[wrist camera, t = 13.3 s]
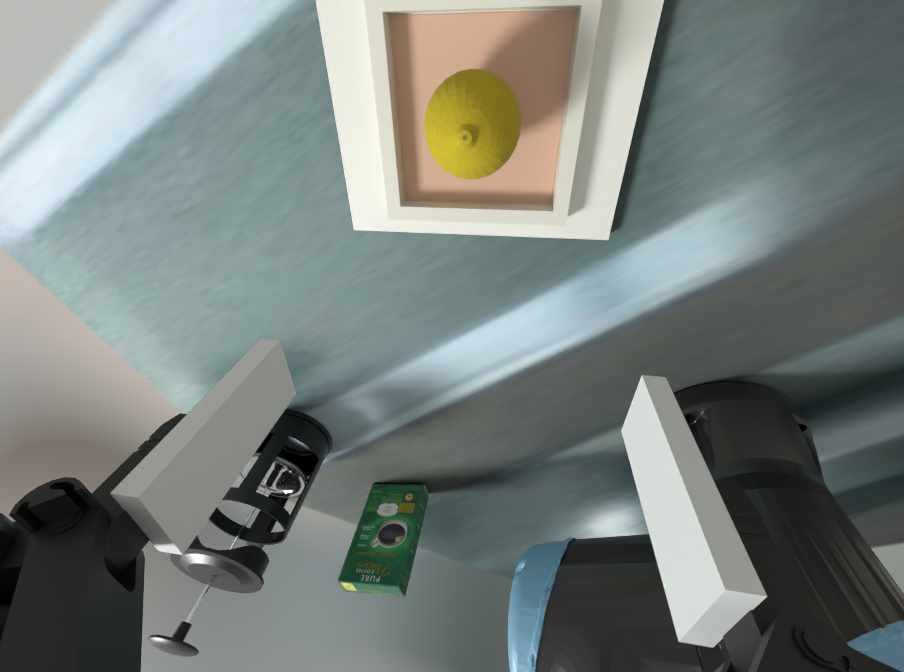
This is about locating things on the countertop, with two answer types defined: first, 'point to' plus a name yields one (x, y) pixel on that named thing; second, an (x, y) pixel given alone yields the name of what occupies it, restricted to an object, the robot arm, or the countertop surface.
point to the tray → (536, 89)
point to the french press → (281, 480)
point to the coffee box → (385, 540)
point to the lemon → (472, 124)
